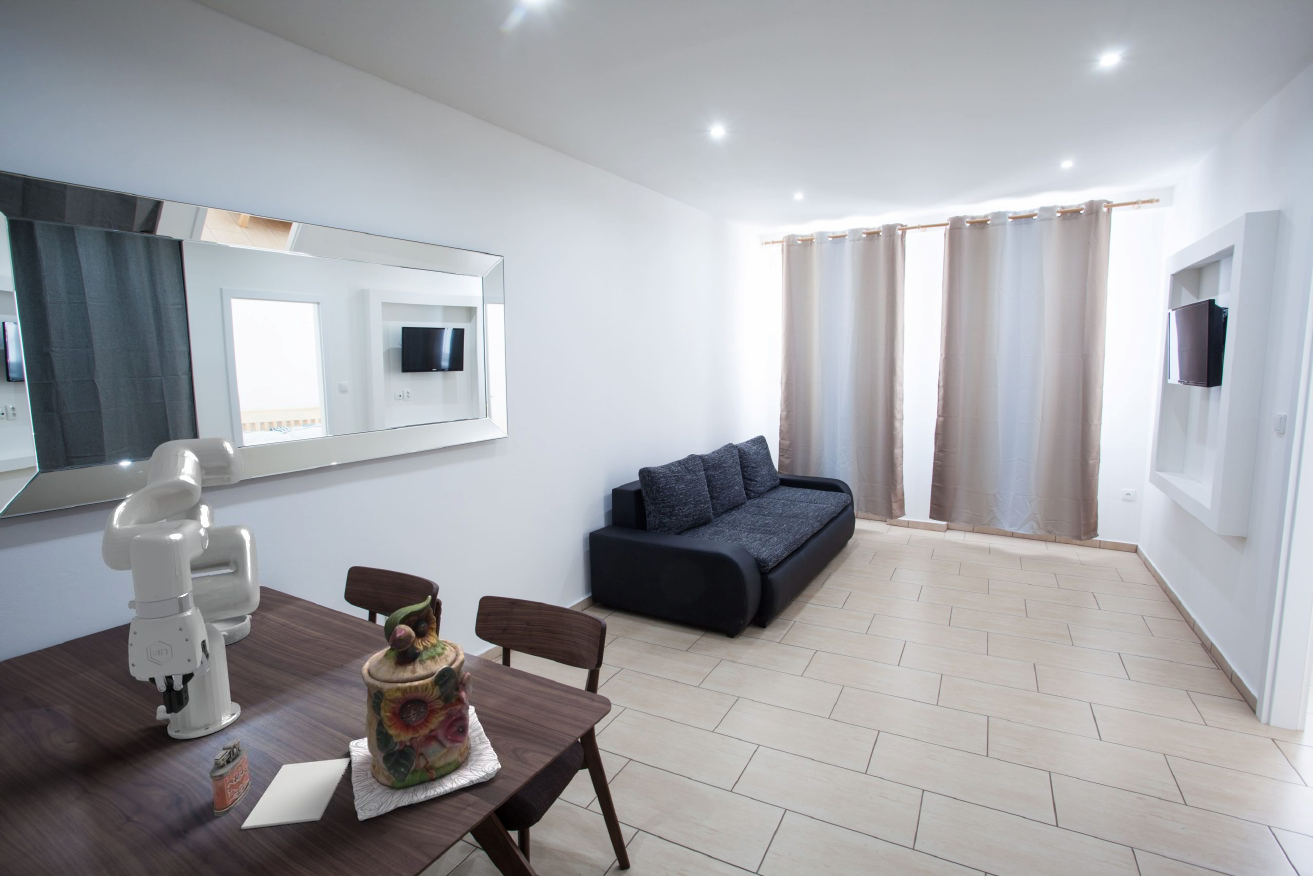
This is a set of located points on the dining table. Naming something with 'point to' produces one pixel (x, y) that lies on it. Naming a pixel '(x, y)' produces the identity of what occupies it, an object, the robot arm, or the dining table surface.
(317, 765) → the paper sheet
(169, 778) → the dining table surface
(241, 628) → the dish
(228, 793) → the lighter
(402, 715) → the cookie jar
